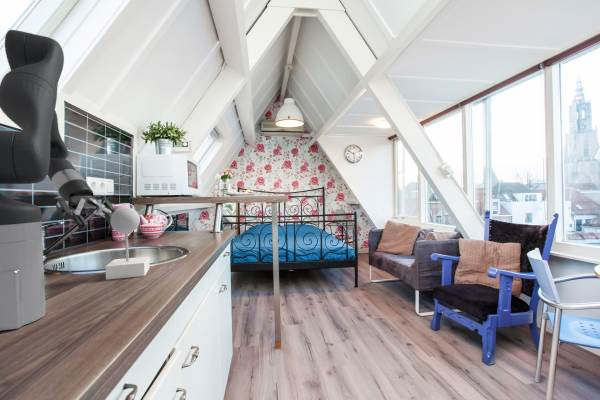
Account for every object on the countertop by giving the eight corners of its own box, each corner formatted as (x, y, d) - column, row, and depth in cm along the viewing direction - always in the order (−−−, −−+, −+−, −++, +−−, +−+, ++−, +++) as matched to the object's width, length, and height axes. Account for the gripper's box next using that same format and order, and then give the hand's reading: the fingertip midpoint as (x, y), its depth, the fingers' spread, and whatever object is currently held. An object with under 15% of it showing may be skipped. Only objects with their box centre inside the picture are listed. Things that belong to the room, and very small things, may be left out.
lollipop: (116, 259, 86) (113, 207, 86) (144, 257, 89) (141, 206, 88) (109, 265, 80) (106, 208, 79) (139, 262, 82) (136, 207, 81)
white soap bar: (144, 275, 81) (144, 263, 81) (106, 279, 79) (105, 266, 78) (149, 268, 90) (149, 256, 90) (114, 271, 87) (114, 259, 87)
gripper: (51, 177, 84) (80, 219, 80) (101, 179, 98) (128, 215, 94) (40, 196, 86) (68, 238, 83) (90, 195, 100) (116, 231, 96)
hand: (100, 225), depth 88 cm, fingers open, 8 cm apart
